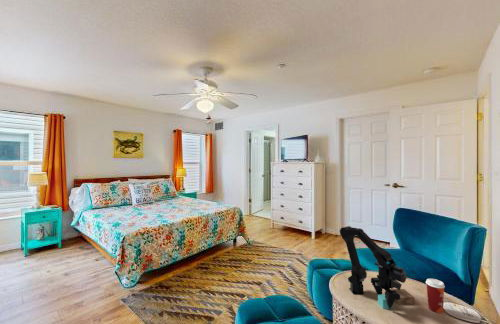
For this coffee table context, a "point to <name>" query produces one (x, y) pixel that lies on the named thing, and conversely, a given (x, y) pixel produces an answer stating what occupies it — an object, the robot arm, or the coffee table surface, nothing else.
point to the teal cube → (382, 302)
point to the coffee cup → (435, 295)
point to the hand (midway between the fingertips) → (384, 303)
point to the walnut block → (404, 297)
